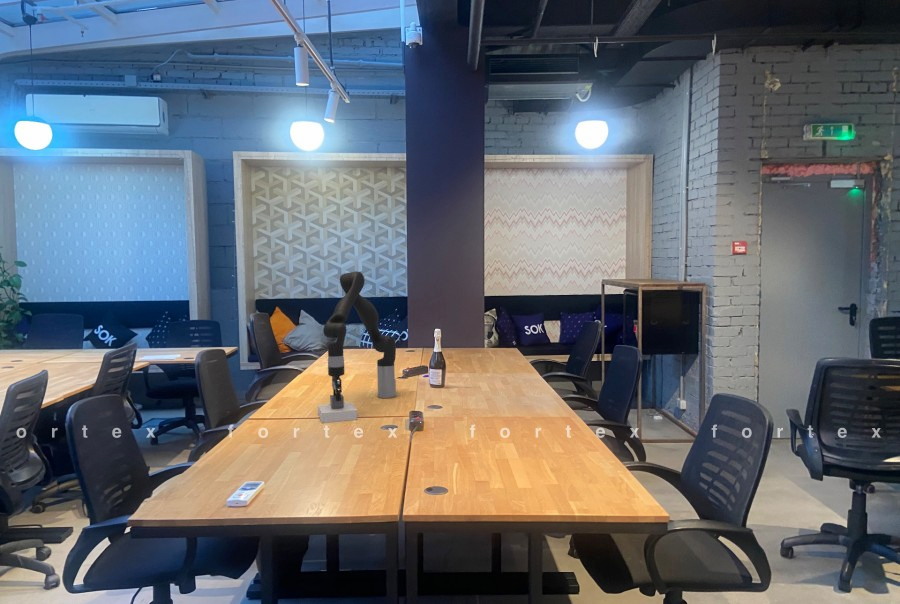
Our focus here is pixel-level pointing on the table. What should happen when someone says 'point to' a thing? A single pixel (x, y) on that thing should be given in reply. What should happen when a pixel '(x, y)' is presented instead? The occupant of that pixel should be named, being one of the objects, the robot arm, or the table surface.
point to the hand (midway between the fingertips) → (337, 399)
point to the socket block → (337, 413)
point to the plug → (336, 402)
